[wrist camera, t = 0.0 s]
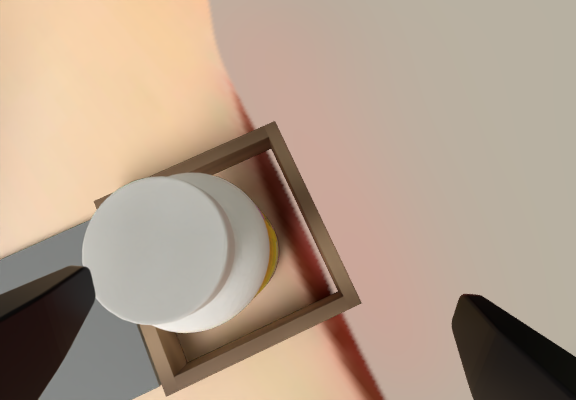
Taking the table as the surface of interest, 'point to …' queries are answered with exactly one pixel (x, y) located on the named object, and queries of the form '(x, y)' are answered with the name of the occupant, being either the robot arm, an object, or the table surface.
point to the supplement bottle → (179, 252)
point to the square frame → (184, 374)
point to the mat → (86, 331)
